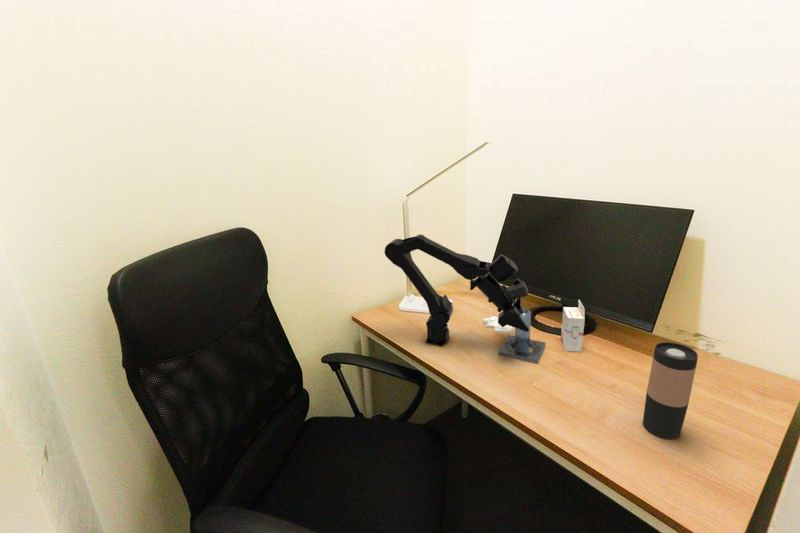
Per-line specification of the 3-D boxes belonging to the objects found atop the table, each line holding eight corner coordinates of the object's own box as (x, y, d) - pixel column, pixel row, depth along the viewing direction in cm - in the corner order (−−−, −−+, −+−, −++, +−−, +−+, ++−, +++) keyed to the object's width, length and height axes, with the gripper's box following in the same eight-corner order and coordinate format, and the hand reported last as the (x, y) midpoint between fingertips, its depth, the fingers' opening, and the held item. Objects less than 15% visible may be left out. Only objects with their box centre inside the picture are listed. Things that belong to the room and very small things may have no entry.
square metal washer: (498, 354, 119) (498, 351, 119) (508, 338, 129) (508, 335, 129) (537, 363, 113) (537, 360, 113) (545, 345, 123) (545, 342, 123)
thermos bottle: (517, 353, 119) (518, 312, 115) (512, 347, 123) (513, 307, 120) (531, 352, 119) (533, 311, 116) (526, 346, 123) (527, 306, 120)
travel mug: (633, 418, 89) (646, 343, 83) (664, 415, 90) (679, 340, 84) (657, 442, 82) (673, 361, 76) (690, 438, 83) (708, 358, 77)
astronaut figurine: (498, 318, 145) (498, 310, 144) (518, 331, 134) (518, 323, 133) (478, 322, 142) (478, 315, 141) (497, 336, 131) (497, 328, 130)
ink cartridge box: (559, 338, 127) (563, 297, 123) (575, 339, 126) (579, 298, 122) (565, 351, 119) (569, 308, 115) (581, 352, 118) (586, 309, 114)
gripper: (511, 284, 106) (550, 324, 106) (514, 265, 123) (548, 299, 123) (482, 308, 111) (519, 345, 111) (488, 286, 128) (521, 319, 128)
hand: (528, 326), depth 118 cm, fingers open, 6 cm apart
